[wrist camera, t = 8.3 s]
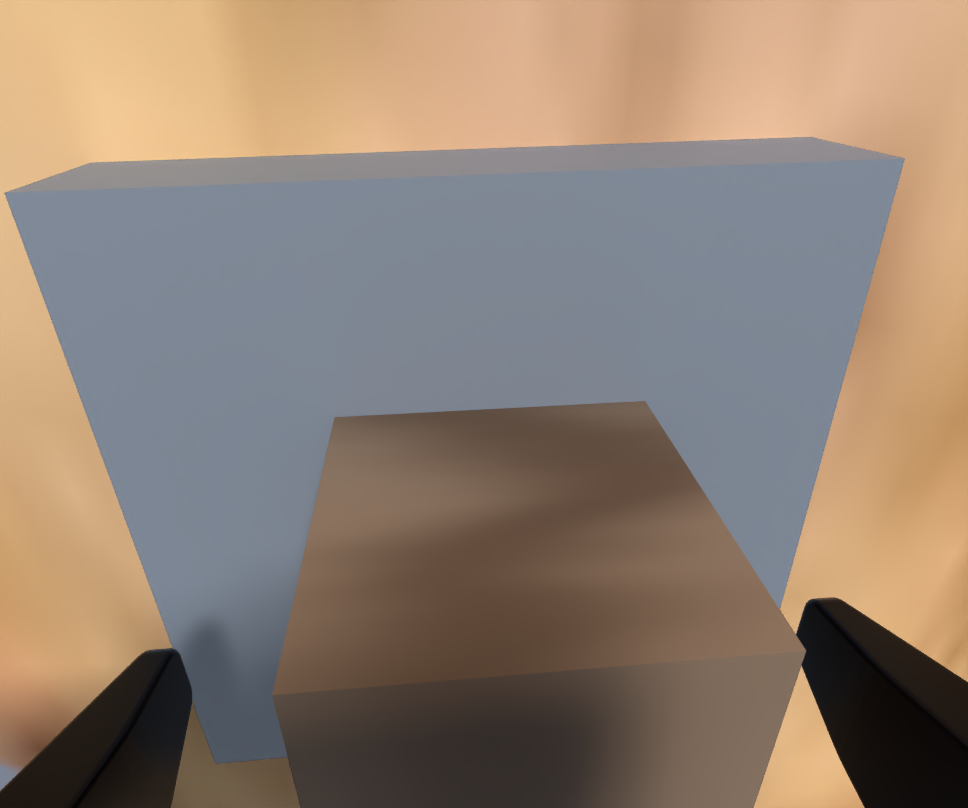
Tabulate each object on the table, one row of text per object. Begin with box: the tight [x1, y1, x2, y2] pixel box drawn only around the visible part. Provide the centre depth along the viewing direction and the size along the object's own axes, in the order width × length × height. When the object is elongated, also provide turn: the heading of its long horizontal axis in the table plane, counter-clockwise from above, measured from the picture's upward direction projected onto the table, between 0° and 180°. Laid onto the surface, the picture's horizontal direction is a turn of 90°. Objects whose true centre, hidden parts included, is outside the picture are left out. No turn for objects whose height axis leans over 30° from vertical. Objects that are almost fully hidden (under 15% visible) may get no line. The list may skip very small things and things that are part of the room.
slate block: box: [5, 137, 905, 764], centre depth 13 cm, size 12×12×3 cm
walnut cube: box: [272, 401, 806, 808], centre depth 9 cm, size 5×5×5 cm
